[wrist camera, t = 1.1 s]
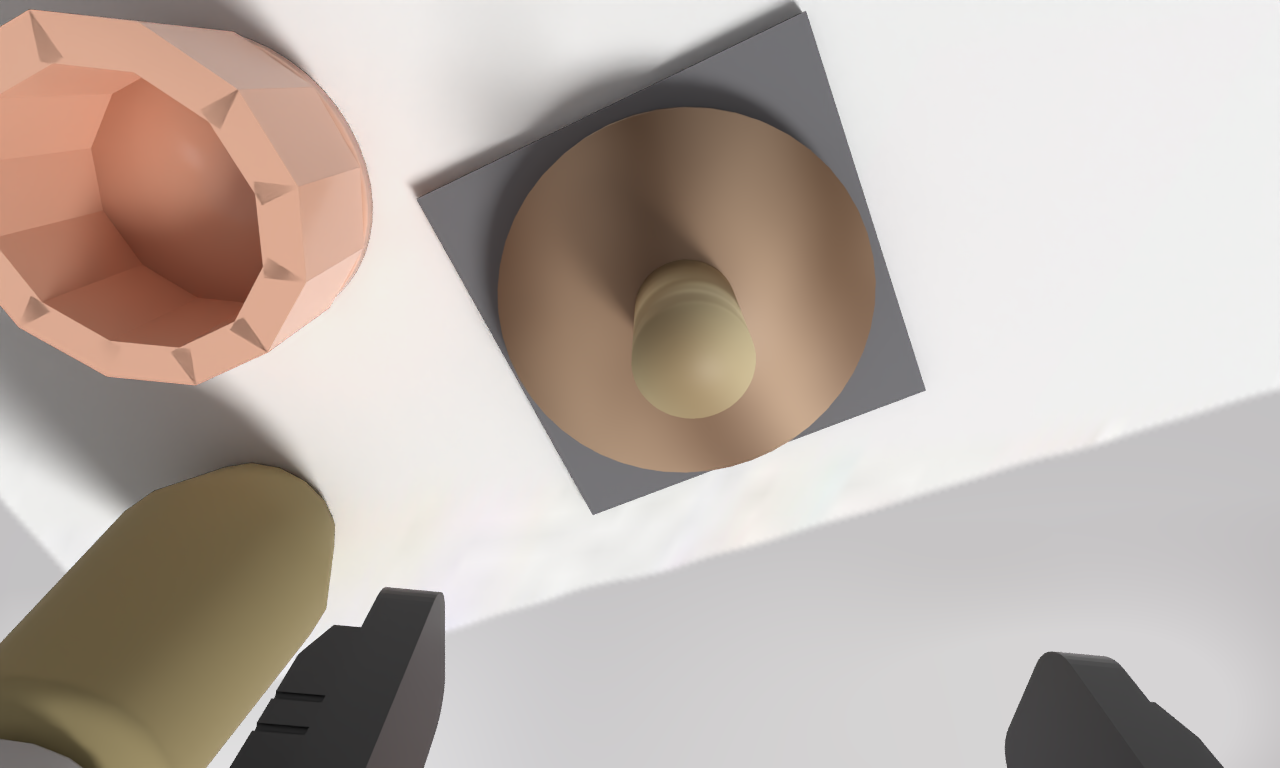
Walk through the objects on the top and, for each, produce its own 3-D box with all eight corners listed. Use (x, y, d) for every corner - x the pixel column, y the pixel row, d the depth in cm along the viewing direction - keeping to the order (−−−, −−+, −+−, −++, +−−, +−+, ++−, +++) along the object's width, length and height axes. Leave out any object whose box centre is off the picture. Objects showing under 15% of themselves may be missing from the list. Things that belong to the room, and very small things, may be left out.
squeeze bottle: (384, 476, 29) (45, 990, 13) (340, 618, 32) (19, 1181, 16) (186, 408, 28) (-465, 874, 12) (159, 561, 31) (-389, 1104, 15)
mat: (802, 12, 22) (806, 10, 22) (921, 385, 27) (925, 390, 27) (420, 196, 25) (416, 198, 24) (593, 508, 30) (592, 515, 29)
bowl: (260, -30, 22) (145, -62, 17) (426, 259, 26) (371, 304, 21) (15, 110, 24) (-155, 119, 19) (202, 363, 28) (102, 428, 22)
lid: (795, 35, 22) (846, 20, 17) (909, 384, 27) (978, 466, 21) (436, 206, 25) (372, 245, 19) (598, 501, 29) (586, 604, 23)
